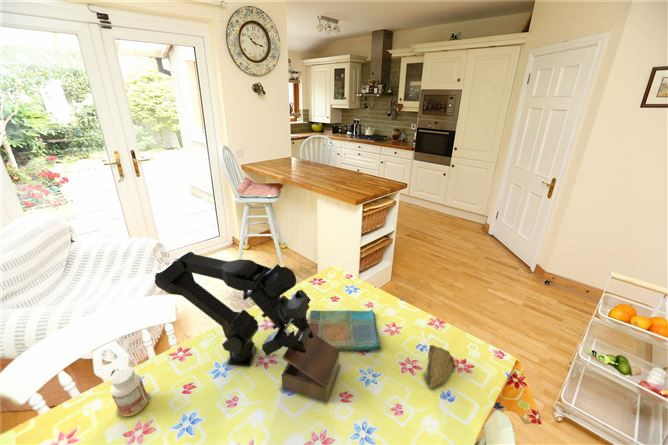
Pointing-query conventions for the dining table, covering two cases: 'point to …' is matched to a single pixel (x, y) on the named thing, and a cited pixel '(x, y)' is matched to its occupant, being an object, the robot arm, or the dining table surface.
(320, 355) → the lid
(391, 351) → the dining table surface
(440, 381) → the rock
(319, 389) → the brown wooden box
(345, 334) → the dish towel
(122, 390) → the pill bottle
